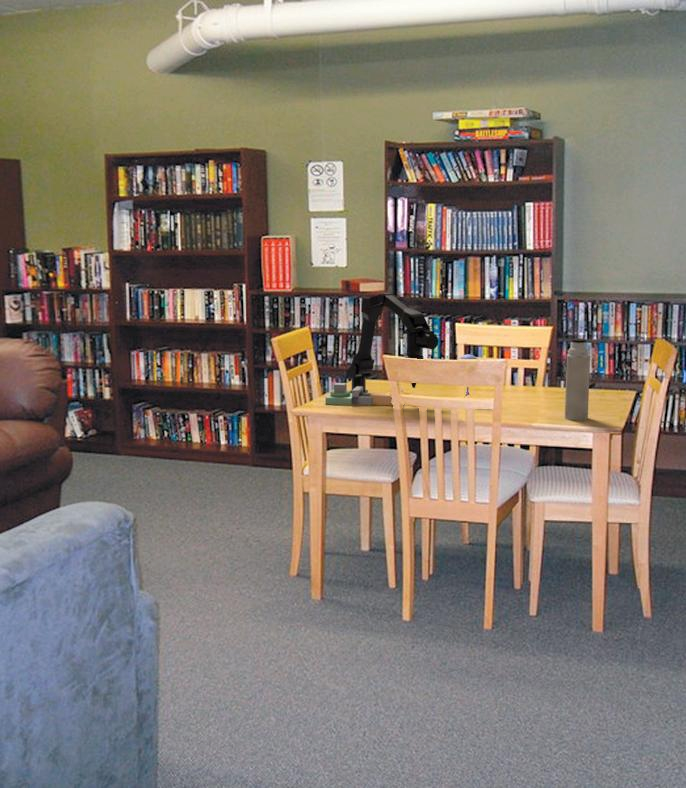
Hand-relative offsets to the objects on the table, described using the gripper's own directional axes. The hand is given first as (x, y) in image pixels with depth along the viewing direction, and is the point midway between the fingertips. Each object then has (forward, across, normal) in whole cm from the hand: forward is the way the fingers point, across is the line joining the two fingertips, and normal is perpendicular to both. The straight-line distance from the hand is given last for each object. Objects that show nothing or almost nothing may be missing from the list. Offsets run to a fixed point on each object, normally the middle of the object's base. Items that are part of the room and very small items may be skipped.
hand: (413, 387), depth 402 cm
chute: (+6, -10, 0) cm, 12 cm away
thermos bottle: (+6, +60, -14) cm, 62 cm away
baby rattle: (+7, +19, +12) cm, 23 cm away
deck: (+6, -24, 0) cm, 25 cm away
